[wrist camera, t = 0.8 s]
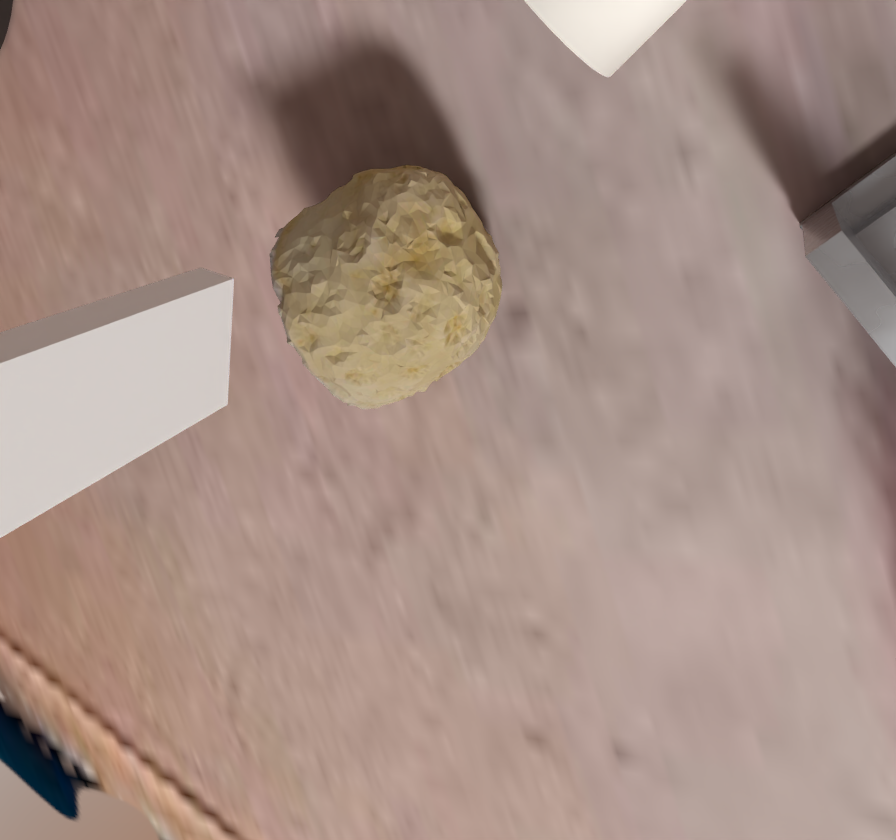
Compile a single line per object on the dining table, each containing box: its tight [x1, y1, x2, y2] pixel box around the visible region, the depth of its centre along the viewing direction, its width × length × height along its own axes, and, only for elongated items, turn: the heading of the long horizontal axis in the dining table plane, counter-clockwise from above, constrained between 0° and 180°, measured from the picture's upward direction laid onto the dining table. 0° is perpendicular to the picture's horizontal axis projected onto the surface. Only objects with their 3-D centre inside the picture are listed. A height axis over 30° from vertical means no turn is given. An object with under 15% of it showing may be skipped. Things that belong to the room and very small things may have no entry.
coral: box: [270, 165, 502, 409], centre depth 32 cm, size 10×10×10 cm
